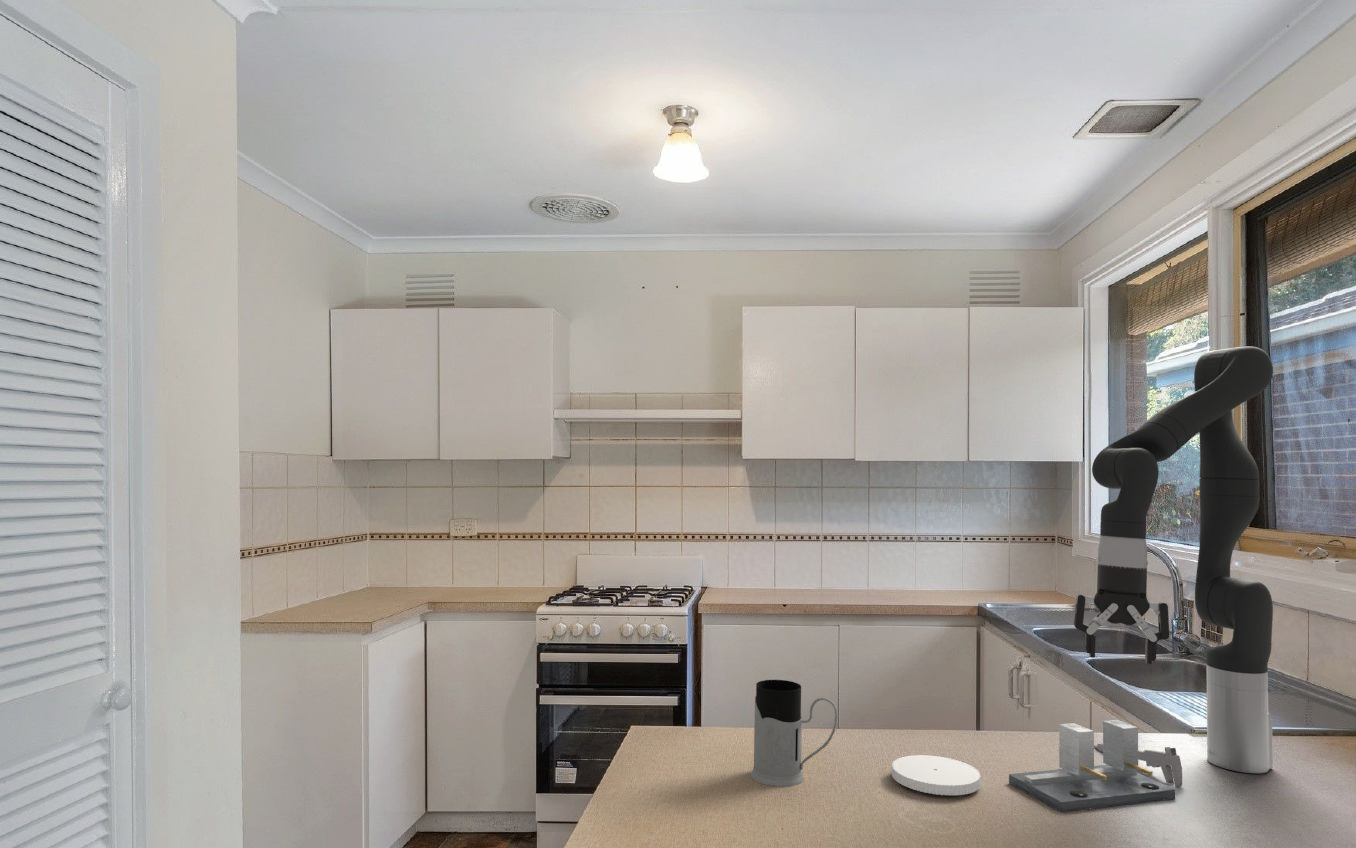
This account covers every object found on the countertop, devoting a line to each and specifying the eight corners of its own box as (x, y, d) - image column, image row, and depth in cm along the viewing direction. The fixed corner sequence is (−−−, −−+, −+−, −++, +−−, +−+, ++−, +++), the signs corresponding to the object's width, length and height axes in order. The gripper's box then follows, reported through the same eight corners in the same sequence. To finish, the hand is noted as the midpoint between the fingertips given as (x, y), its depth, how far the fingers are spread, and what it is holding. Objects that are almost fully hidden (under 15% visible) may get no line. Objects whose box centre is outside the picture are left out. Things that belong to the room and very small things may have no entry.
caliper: (1182, 789, 140) (1182, 750, 140) (1177, 789, 139) (1176, 750, 140) (1097, 748, 160) (1097, 714, 160) (1092, 748, 159) (1092, 715, 160)
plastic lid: (913, 803, 131) (913, 787, 131) (878, 771, 145) (878, 756, 145) (997, 800, 133) (997, 784, 133) (955, 768, 147) (955, 754, 147)
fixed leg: (1117, 761, 144) (1117, 719, 144) (1158, 779, 136) (1158, 735, 136) (1103, 762, 143) (1103, 720, 143) (1143, 780, 135) (1143, 736, 135)
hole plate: (1116, 772, 146) (1116, 759, 146) (1175, 799, 134) (1175, 784, 134) (1008, 783, 139) (1009, 769, 140) (1061, 812, 128) (1061, 796, 128)
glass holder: (758, 764, 146) (759, 676, 147) (840, 776, 141) (841, 685, 142) (744, 781, 138) (746, 688, 138) (832, 794, 133) (833, 698, 134)
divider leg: (1074, 765, 141) (1073, 723, 142) (1113, 783, 133) (1113, 738, 134) (1059, 767, 140) (1059, 724, 141) (1097, 785, 132) (1097, 740, 133)
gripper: (1165, 567, 146) (1163, 662, 144) (1074, 559, 151) (1071, 651, 149) (1173, 569, 139) (1171, 669, 137) (1078, 561, 144) (1075, 657, 142)
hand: (1119, 660), depth 143 cm, fingers open, 8 cm apart
